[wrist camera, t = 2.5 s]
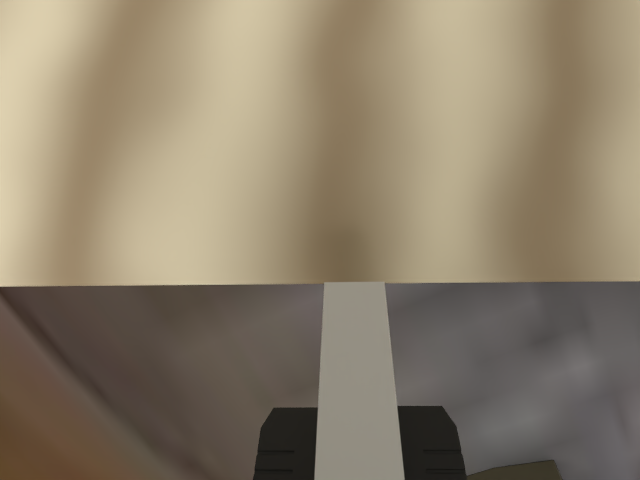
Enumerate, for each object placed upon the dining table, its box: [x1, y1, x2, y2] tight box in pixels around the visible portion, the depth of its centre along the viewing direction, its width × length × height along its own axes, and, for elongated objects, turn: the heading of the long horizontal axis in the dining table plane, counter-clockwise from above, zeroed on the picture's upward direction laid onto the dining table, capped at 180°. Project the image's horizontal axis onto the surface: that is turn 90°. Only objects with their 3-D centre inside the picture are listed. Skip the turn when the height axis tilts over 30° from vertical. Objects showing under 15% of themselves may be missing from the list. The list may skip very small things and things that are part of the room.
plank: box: [0, 0, 640, 286], centre depth 18 cm, size 26×9×2 cm
